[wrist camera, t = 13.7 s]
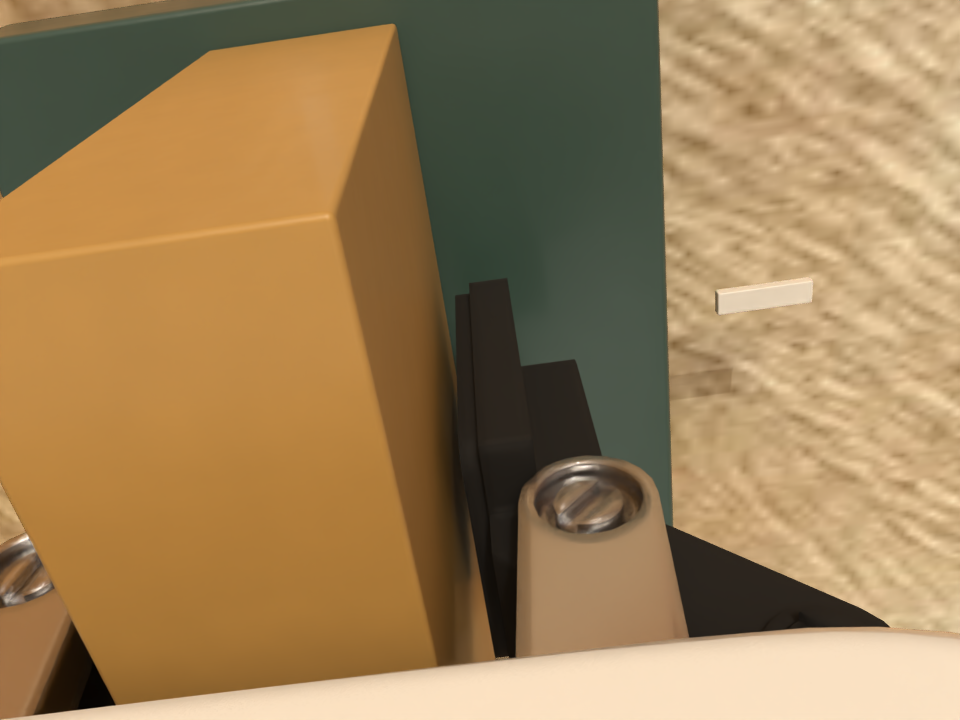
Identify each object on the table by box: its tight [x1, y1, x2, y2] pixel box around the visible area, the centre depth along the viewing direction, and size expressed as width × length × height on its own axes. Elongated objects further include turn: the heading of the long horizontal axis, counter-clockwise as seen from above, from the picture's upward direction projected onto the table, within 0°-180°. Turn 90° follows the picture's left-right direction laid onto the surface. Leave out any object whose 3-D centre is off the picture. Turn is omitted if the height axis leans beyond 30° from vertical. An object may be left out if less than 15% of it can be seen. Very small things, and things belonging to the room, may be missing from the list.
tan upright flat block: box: [0, 24, 495, 705], centre depth 10 cm, size 9×2×7 cm, turn 8°
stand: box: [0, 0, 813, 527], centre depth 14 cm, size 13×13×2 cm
